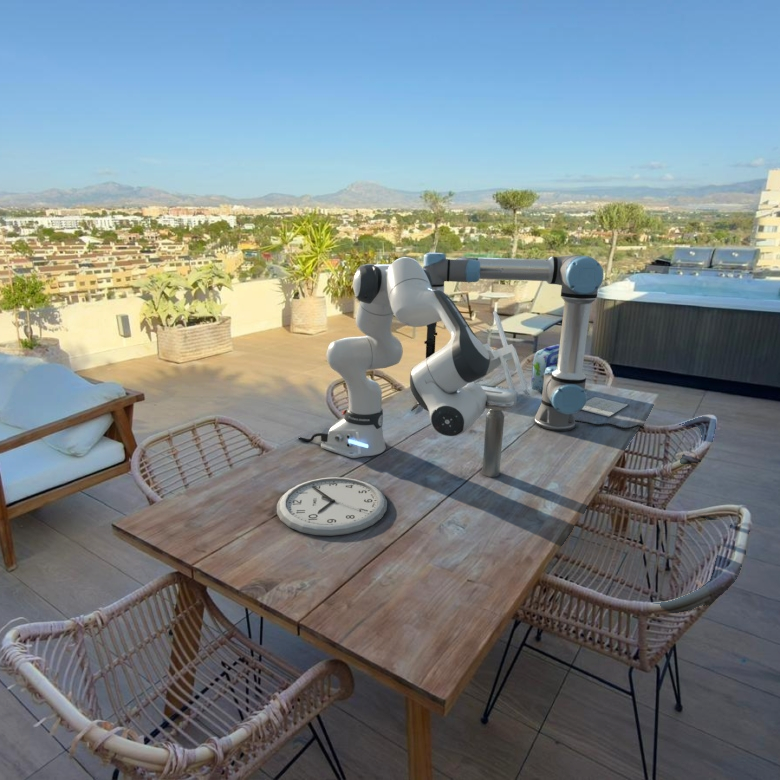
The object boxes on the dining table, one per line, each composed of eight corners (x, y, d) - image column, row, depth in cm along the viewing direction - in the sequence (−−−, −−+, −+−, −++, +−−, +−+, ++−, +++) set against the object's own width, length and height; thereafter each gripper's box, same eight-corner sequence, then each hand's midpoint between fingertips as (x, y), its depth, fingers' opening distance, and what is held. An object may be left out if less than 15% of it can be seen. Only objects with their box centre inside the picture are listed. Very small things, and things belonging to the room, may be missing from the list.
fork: (408, 411, 216) (408, 407, 215) (419, 400, 230) (419, 396, 229) (414, 412, 215) (414, 407, 214) (425, 401, 229) (425, 396, 229)
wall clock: (392, 527, 129) (268, 531, 127) (391, 533, 130) (269, 537, 127) (383, 473, 158) (282, 475, 155) (383, 478, 158) (282, 480, 156)
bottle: (479, 474, 162) (485, 401, 155) (484, 468, 167) (490, 396, 159) (496, 478, 160) (503, 404, 153) (501, 471, 164) (507, 399, 157)
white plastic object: (461, 429, 252) (437, 405, 227) (444, 352, 274) (420, 323, 250) (535, 404, 240) (518, 377, 215) (510, 326, 262) (492, 293, 237)
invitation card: (608, 416, 214) (573, 407, 224) (608, 416, 214) (573, 408, 224) (628, 404, 229) (594, 396, 238) (628, 405, 229) (594, 397, 238)
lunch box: (547, 397, 237) (552, 352, 231) (526, 391, 245) (531, 348, 238) (574, 386, 255) (580, 344, 249) (554, 381, 262) (559, 340, 256)
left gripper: (513, 394, 118) (523, 380, 130) (427, 383, 126) (444, 371, 138) (510, 420, 120) (521, 404, 132) (426, 408, 127) (443, 393, 140)
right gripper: (424, 293, 195) (422, 349, 202) (419, 302, 172) (417, 365, 178) (444, 294, 195) (441, 350, 201) (442, 303, 171) (439, 366, 177)
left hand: (481, 387), depth 135 cm, fingers open, 8 cm apart
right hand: (430, 357), depth 190 cm, fingers open, 13 cm apart
